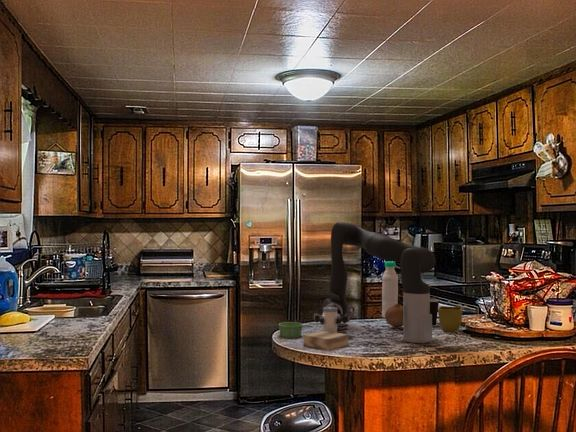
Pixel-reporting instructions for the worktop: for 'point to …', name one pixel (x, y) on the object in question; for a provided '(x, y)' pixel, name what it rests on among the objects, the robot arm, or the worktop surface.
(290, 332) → the ramekin
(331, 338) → the base block
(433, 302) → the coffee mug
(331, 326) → the canister
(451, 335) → the worktop surface
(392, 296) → the water bottle
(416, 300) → the robot arm
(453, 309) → the flower pot
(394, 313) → the onion
